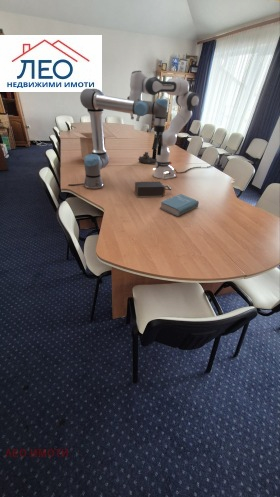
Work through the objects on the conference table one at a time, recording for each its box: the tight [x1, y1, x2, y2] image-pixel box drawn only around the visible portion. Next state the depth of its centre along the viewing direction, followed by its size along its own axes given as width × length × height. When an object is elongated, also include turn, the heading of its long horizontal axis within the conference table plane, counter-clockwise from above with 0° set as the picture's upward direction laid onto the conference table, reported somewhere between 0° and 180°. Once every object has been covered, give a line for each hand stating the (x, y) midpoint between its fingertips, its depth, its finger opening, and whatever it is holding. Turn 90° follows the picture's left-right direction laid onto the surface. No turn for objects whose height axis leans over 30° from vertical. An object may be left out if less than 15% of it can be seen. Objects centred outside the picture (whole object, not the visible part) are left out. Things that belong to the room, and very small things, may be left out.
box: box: [70, 130, 114, 161], centre depth 229 cm, size 44×36×27 cm
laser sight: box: [138, 151, 157, 165], centre depth 240 cm, size 10×22×10 cm, turn 78°
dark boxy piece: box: [134, 181, 165, 198], centre depth 172 cm, size 20×11×8 cm, turn 102°
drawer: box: [161, 182, 172, 196], centre depth 173 cm, size 24×10×6 cm, turn 102°
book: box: [159, 193, 200, 217], centre depth 155 cm, size 23×16×5 cm
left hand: (156, 157), depth 167 cm, fingers open, 13 cm apart
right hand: (134, 120), depth 170 cm, fingers open, 8 cm apart
